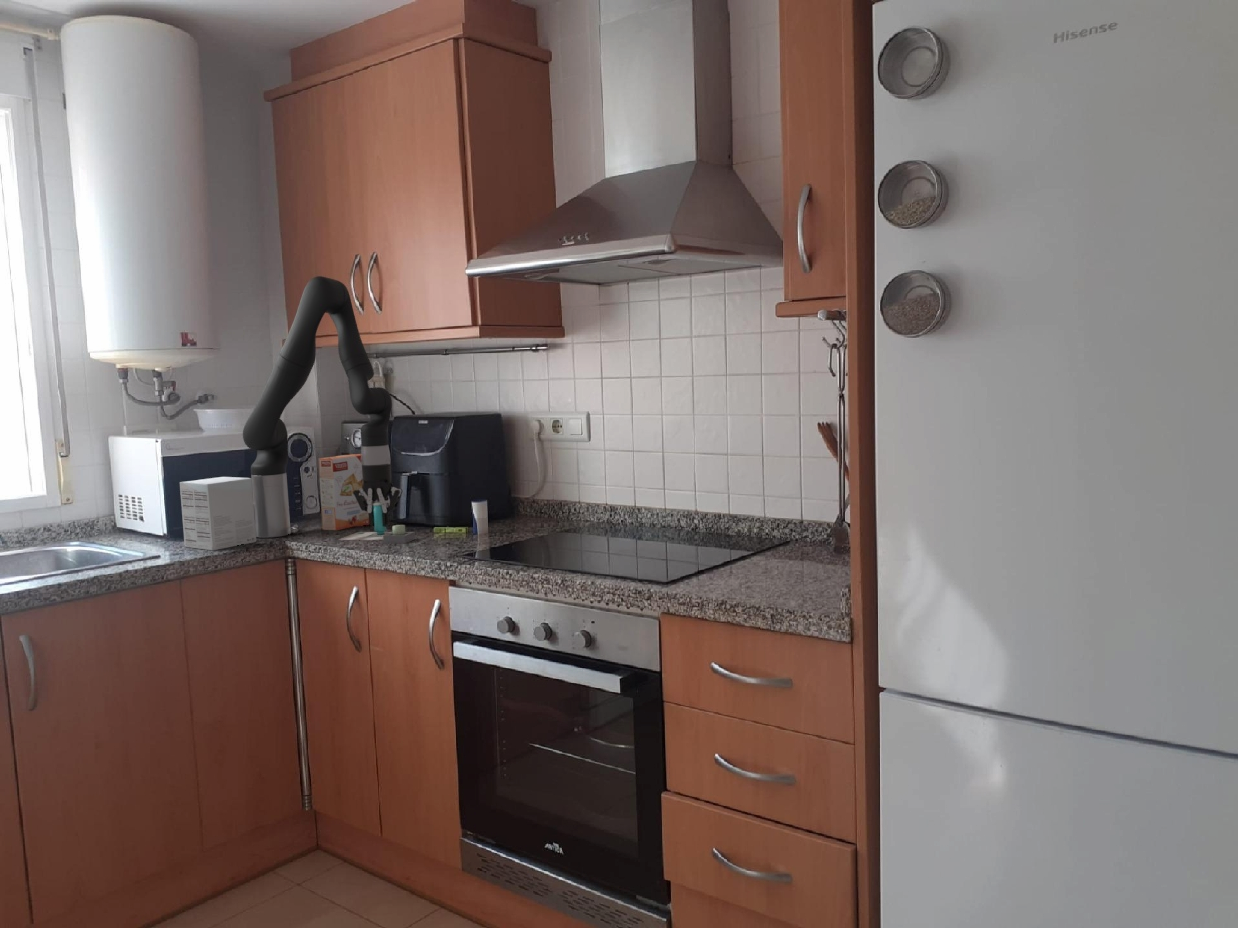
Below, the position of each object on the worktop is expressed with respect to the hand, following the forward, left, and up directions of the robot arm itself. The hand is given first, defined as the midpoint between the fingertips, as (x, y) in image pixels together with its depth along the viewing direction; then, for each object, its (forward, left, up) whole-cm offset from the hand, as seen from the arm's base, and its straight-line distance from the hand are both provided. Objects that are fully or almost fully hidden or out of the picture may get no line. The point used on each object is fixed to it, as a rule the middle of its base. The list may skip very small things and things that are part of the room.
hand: (380, 526), depth 264 cm
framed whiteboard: (-1, -2, -3) cm, 4 cm away
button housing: (+10, -9, -3) cm, 14 cm away
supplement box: (-41, -11, -3) cm, 42 cm away
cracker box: (-18, +15, -3) cm, 23 cm away
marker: (0, 0, -2) cm, 2 cm away
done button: (+10, -9, -1) cm, 14 cm away
